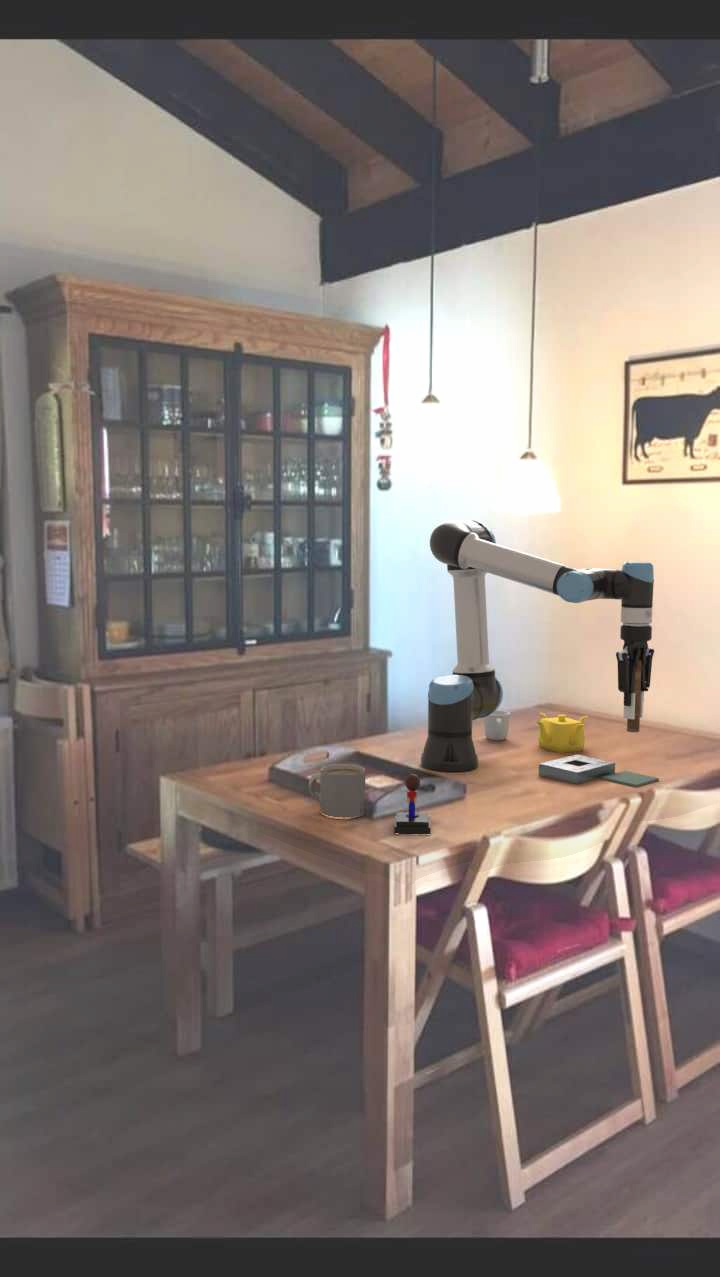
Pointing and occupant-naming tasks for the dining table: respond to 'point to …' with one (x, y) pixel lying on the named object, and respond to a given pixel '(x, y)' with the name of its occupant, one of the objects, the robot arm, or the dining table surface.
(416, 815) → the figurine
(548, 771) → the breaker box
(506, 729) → the cup
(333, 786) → the coffee mug
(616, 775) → the coaster
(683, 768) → the dining table surface
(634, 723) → the brown wooden block
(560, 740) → the teapot
